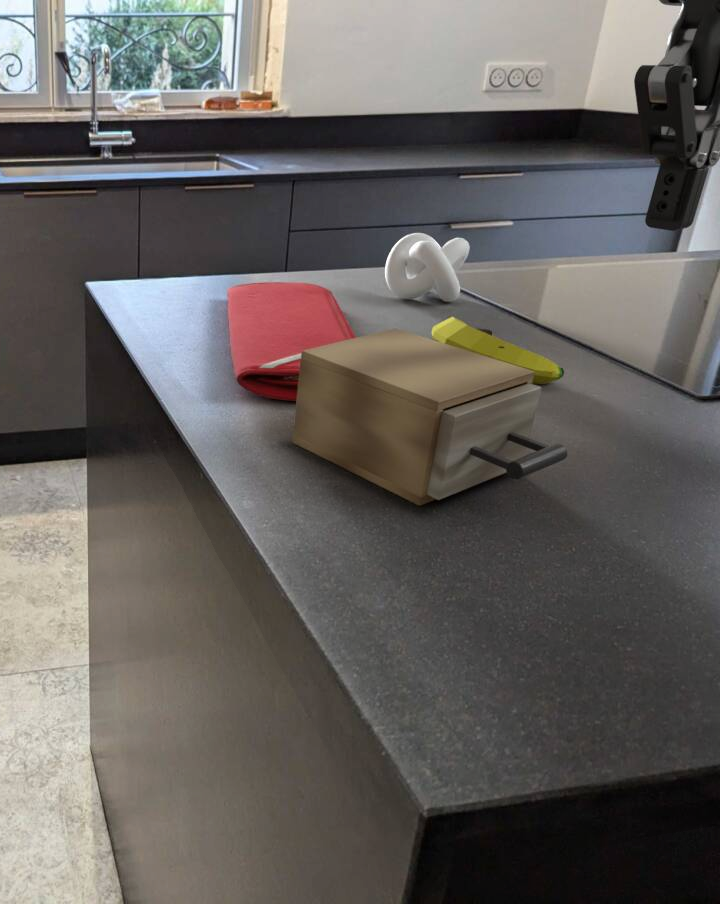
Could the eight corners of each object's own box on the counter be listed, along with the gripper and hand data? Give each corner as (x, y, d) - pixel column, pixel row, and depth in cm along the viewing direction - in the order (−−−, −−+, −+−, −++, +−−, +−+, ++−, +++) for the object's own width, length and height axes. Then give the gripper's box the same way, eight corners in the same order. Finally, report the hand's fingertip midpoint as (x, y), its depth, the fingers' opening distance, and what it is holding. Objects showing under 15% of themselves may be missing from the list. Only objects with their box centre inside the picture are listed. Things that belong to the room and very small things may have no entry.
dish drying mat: (332, 302, 122) (335, 277, 120) (384, 408, 85) (389, 374, 84) (225, 299, 123) (227, 275, 122) (231, 401, 87) (233, 368, 85)
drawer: (575, 487, 68) (598, 405, 64) (491, 525, 62) (511, 438, 59) (397, 414, 81) (409, 344, 78) (315, 441, 76) (324, 366, 72)
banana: (548, 357, 87) (607, 352, 96) (410, 311, 99) (474, 309, 108) (532, 398, 89) (592, 388, 98) (398, 347, 100) (463, 343, 110)
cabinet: (512, 468, 73) (535, 371, 69) (419, 506, 66) (438, 401, 63) (382, 414, 84) (395, 328, 80) (291, 442, 77) (301, 350, 74)
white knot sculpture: (419, 283, 133) (428, 226, 129) (485, 299, 124) (497, 239, 120) (372, 293, 127) (380, 234, 124) (438, 310, 118) (449, 248, 115)
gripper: (786, -120, 39) (677, 250, 46) (889, -94, 45) (780, 226, 53) (625, -98, 44) (551, 229, 52) (738, -77, 51) (658, 210, 59)
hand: (667, 227), depth 52 cm, fingers closed
